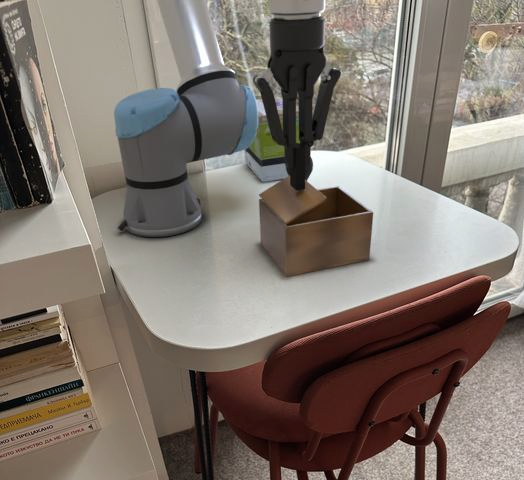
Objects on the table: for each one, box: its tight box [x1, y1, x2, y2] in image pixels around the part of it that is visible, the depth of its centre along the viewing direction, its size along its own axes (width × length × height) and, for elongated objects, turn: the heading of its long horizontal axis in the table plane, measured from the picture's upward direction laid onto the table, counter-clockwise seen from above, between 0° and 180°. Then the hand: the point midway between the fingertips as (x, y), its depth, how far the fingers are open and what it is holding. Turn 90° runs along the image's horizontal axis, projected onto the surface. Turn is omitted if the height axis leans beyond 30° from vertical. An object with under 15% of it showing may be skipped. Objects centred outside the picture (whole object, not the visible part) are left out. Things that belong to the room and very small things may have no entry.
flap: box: [258, 176, 327, 224], centre depth 89 cm, size 7×13×1 cm, turn 21°
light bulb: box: [286, 157, 314, 182], centre depth 113 cm, size 6×6×10 cm
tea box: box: [243, 96, 300, 183], centre depth 127 cm, size 15×10×15 cm
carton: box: [258, 185, 374, 277], centre depth 94 cm, size 15×13×8 cm
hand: (297, 187), depth 88 cm, fingers closed
